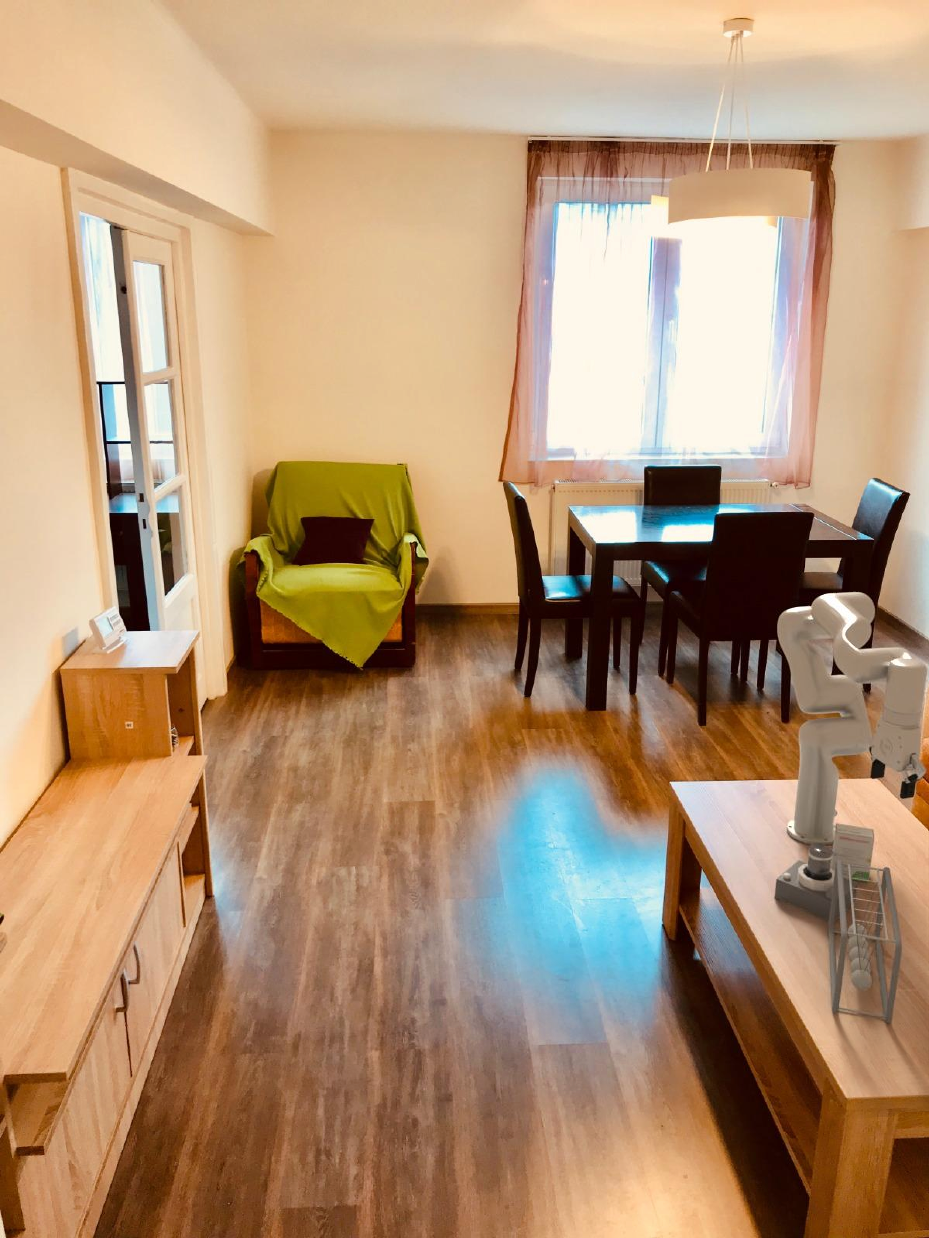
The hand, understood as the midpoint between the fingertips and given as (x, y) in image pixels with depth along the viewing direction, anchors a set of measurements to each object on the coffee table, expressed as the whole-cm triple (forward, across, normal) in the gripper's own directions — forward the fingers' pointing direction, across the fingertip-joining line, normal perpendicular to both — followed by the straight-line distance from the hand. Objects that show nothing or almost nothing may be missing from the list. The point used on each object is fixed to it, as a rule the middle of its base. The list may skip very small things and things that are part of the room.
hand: (891, 787), depth 213 cm
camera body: (+28, -4, -14) cm, 32 cm away
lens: (+23, -4, -14) cm, 27 cm away
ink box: (+28, -11, +1) cm, 30 cm away
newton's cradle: (+29, +21, -21) cm, 41 cm away
